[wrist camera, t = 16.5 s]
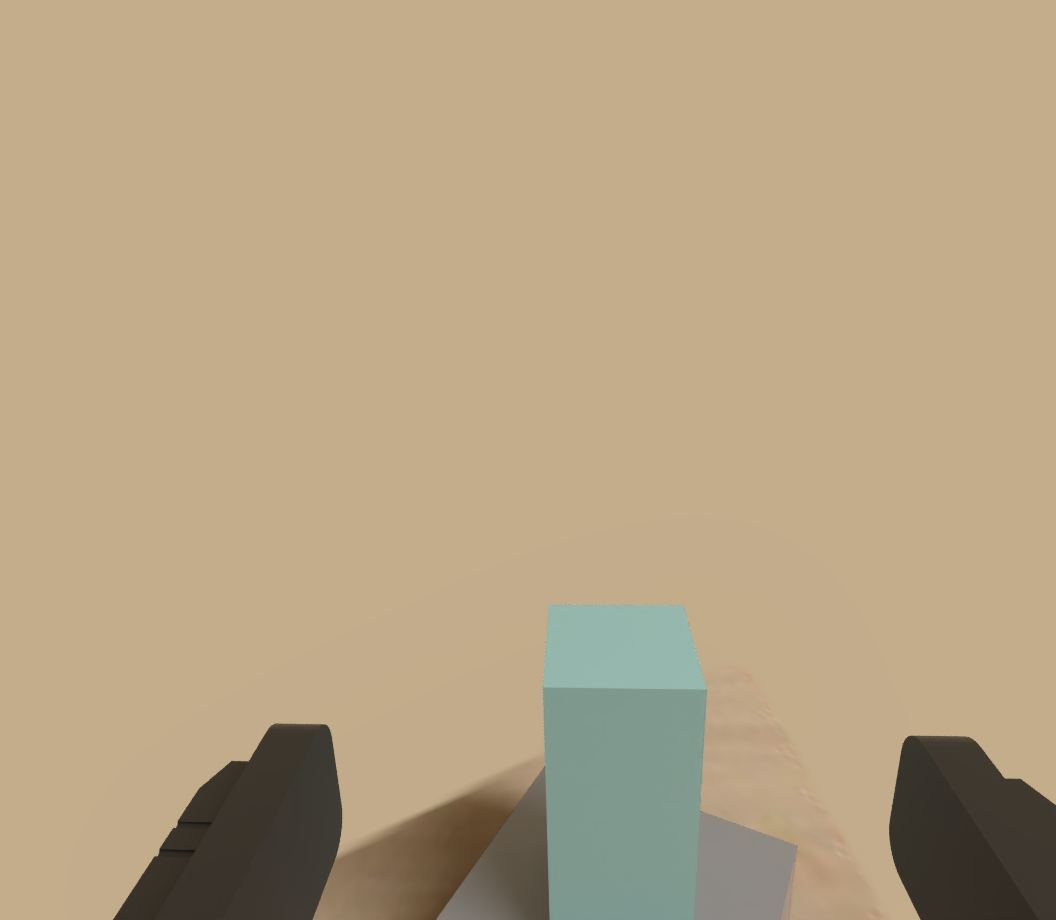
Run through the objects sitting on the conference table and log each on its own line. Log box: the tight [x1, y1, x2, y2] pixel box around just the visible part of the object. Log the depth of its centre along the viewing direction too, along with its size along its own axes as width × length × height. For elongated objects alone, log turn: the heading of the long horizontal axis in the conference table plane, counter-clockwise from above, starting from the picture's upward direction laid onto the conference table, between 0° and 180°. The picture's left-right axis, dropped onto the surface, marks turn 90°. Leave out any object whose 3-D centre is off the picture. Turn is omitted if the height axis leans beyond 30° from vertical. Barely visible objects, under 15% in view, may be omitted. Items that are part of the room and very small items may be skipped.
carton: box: [543, 605, 707, 920], centre depth 32 cm, size 6×6×14 cm
